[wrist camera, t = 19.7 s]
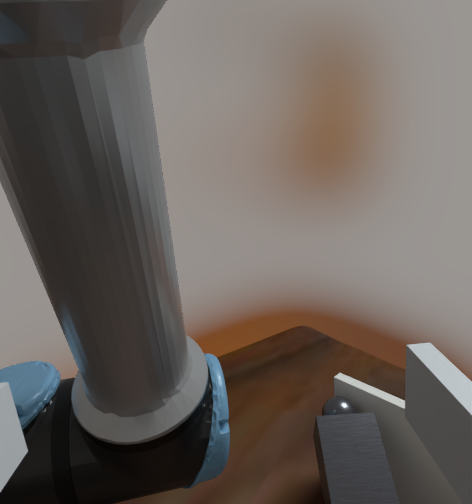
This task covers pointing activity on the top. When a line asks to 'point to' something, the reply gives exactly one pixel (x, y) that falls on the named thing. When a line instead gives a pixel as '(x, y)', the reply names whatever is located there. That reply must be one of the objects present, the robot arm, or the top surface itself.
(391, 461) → the door
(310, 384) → the top surface
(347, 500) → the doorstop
